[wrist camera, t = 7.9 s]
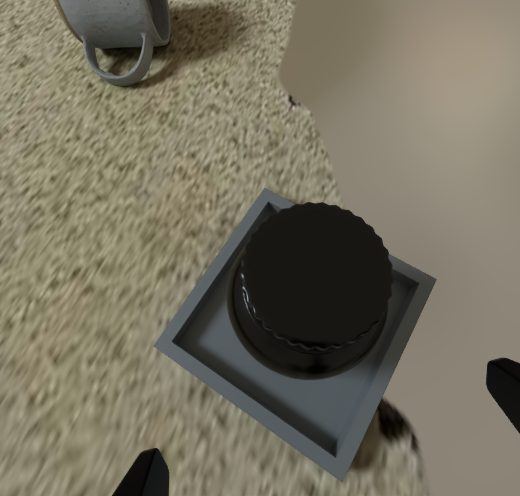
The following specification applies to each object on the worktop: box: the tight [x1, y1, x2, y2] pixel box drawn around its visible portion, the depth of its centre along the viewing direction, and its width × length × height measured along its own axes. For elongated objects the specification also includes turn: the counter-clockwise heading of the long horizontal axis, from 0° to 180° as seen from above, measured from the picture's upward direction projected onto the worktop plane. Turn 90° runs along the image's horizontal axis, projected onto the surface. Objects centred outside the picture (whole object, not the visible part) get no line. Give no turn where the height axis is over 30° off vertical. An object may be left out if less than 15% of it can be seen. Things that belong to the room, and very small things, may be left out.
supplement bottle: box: [226, 202, 394, 380], centre depth 15 cm, size 7×7×12 cm
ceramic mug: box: [54, 0, 171, 86], centre depth 27 cm, size 11×8×8 cm
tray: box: [154, 188, 436, 482], centre depth 21 cm, size 13×13×2 cm
